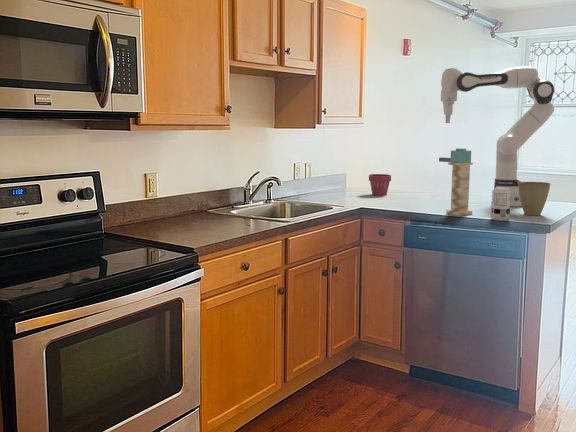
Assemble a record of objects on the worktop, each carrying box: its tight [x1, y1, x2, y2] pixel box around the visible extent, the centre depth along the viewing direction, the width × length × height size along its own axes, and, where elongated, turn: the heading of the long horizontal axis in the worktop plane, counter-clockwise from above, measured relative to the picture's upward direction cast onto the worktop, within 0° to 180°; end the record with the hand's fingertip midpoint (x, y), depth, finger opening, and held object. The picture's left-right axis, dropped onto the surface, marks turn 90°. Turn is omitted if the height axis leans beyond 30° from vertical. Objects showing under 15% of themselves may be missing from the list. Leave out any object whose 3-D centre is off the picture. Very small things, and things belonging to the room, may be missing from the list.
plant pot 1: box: [368, 173, 392, 197], centre depth 372 cm, size 14×14×13 cm
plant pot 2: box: [518, 181, 551, 216], centre depth 292 cm, size 15×15×16 cm
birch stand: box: [445, 162, 474, 217], centre depth 293 cm, size 9×9×26 cm
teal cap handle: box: [438, 147, 472, 163], centre depth 295 cm, size 16×7×7 cm, turn 35°
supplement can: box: [490, 187, 511, 221], centre depth 278 cm, size 8×8×15 cm
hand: (447, 123), depth 328 cm, fingers open, 8 cm apart
